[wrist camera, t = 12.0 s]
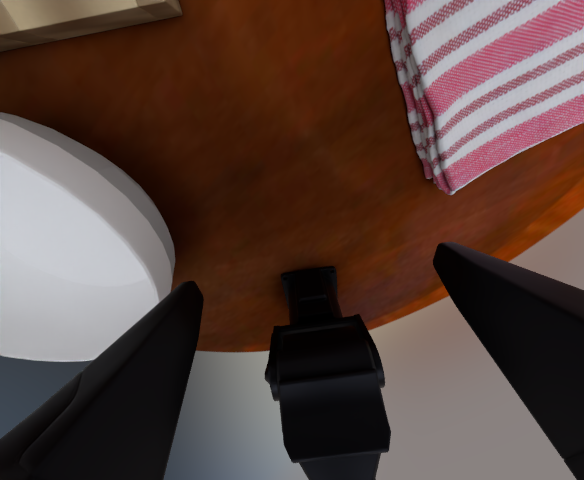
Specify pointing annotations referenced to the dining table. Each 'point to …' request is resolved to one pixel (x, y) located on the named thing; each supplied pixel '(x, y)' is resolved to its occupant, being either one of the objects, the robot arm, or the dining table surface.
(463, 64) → the dish towel
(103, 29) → the wooden divided frame
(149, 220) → the bowl
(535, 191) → the dining table surface
